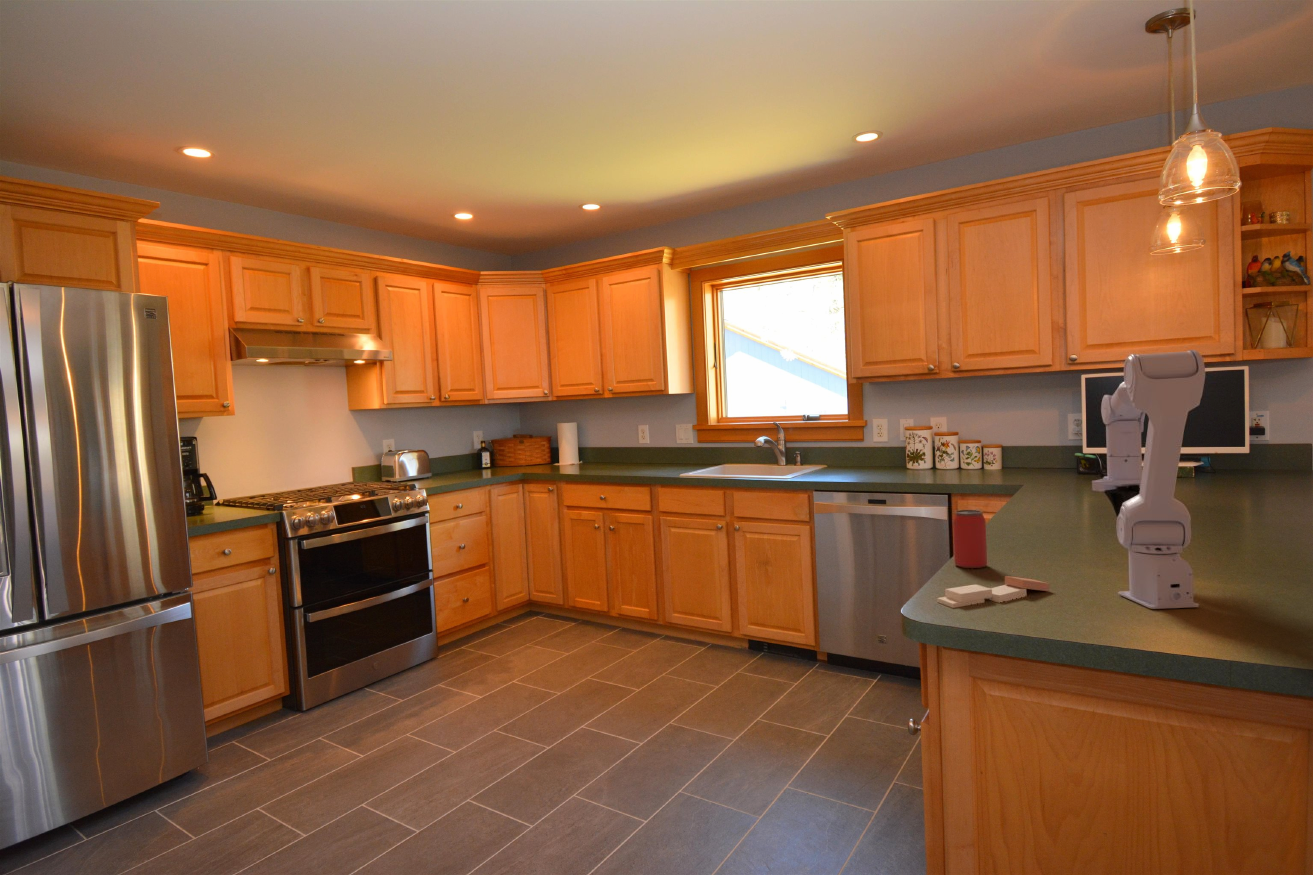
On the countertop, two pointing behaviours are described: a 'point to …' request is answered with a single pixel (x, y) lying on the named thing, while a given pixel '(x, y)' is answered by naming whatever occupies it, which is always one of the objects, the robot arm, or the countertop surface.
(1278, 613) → the countertop surface
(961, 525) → the beer can
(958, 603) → the ivory domino
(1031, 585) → the rust domino
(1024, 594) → the ivory domino
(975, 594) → the ivory domino
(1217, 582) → the countertop surface
